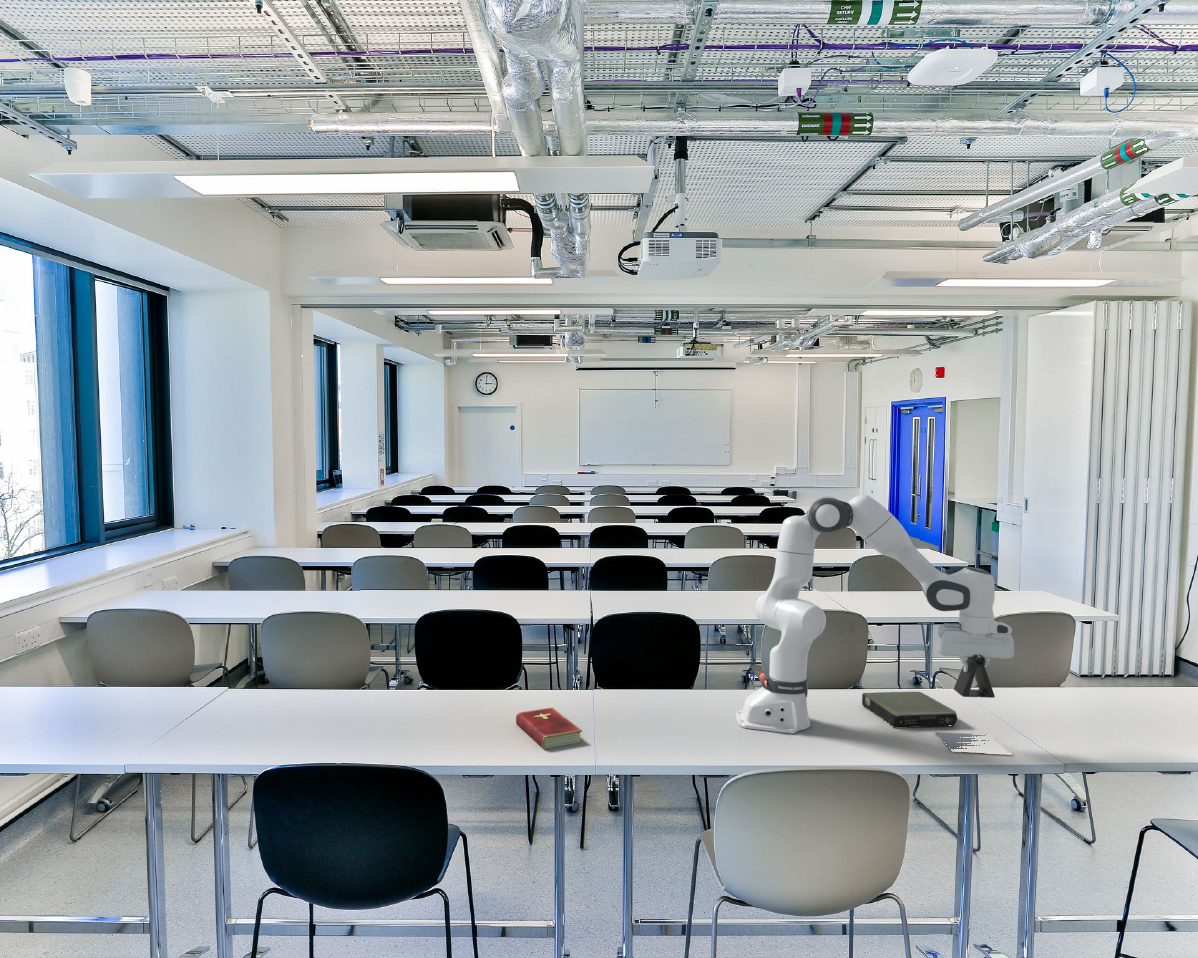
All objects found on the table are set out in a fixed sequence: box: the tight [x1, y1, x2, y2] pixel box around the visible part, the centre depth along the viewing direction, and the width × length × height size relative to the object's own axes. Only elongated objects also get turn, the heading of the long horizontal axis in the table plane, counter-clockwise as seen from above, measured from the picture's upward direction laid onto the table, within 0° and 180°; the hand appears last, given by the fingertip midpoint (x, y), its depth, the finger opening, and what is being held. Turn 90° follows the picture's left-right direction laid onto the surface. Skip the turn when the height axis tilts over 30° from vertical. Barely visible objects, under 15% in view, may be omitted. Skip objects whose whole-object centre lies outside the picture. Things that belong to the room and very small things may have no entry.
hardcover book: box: [515, 707, 583, 751], centre depth 218 cm, size 12×21×4 cm, turn 27°
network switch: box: [861, 691, 958, 728], centre depth 238 cm, size 23×24×5 cm
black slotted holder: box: [953, 654, 996, 699], centre depth 214 cm, size 9×6×12 cm, turn 86°
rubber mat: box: [934, 731, 989, 750], centre depth 215 cm, size 16×14×1 cm
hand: (974, 671), depth 214 cm, fingers closed on black slotted holder, 2 cm apart
